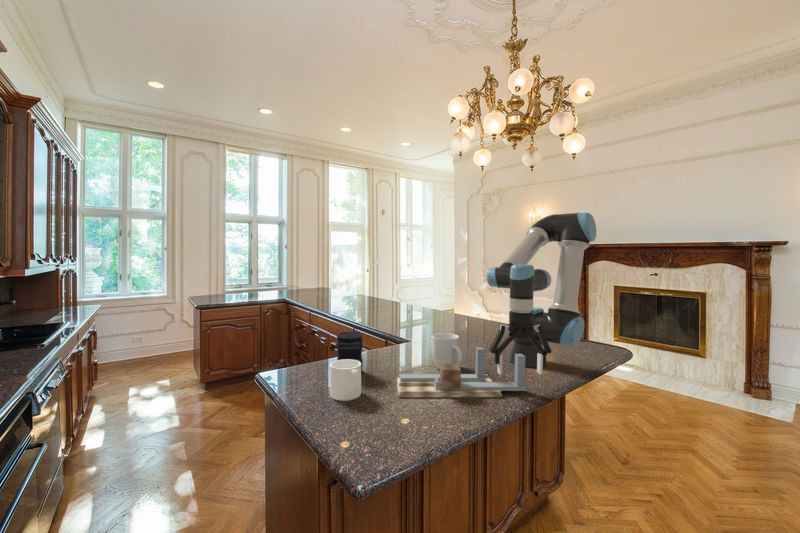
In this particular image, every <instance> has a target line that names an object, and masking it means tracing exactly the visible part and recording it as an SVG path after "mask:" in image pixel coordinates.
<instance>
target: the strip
mask: <svg viewBox="0 0 800 533" xmlns="http://www.w3.org/2000/svg"><path fill="white" fill-rule="evenodd" d="M525 374H526V367H525V356H524V355H523V354H515V364H514V377H513V378H514V379H513V380H514V381H492V382H461V388H442V386H441V383H440V382H439V380H438V378H435V382H434V387H435V390H436V391H486V390H500V391H501V392H504V391H505V392H521V391H522V392H526V391H527V386H526V384H525V380H526V378H525V377H526V375H525Z"/></svg>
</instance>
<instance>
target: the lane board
mask: <svg viewBox="0 0 800 533" xmlns="http://www.w3.org/2000/svg"><path fill="white" fill-rule="evenodd" d="M400 374H401V373H400ZM400 374H399V373H398V376H397V377H396V380H397V398H503V394H502V391H500V390H486V391H436V390H435V387H434V382H400ZM484 377H485V382H493V380H492V379H491V378H490V376H489V374H487V373H486V374H485V373H484Z"/></svg>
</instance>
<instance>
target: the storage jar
mask: <svg viewBox="0 0 800 533" xmlns="http://www.w3.org/2000/svg"><path fill="white" fill-rule="evenodd" d="M363 344H364V343H363V333H361V332H357V331H347V332H346V331H345V332H344V331H343V332H339V333H338V334H336V350H337V359H336V361H337V360H342V359H352V360H357V361H360V362H361V375H362V374H363V364H364V363H363V358H362V354H363V352H362V350H363Z"/></svg>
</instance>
